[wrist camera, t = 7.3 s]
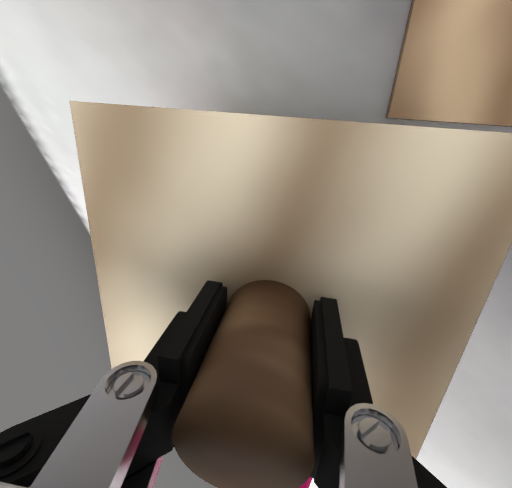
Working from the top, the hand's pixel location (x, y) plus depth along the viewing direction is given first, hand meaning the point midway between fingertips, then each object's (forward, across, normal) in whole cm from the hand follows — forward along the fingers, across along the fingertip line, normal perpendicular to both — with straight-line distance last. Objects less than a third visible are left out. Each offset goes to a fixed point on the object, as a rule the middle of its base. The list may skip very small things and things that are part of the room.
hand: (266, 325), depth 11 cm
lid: (+1, 0, 0) cm, 1 cm away
